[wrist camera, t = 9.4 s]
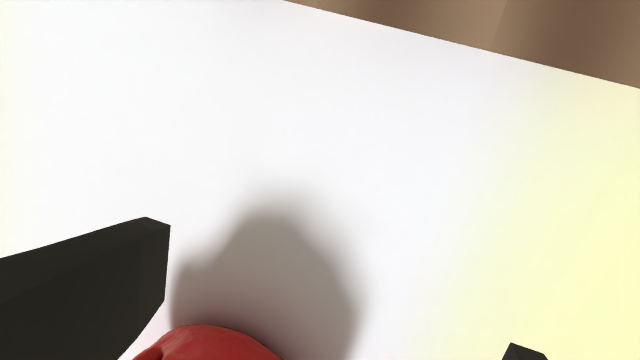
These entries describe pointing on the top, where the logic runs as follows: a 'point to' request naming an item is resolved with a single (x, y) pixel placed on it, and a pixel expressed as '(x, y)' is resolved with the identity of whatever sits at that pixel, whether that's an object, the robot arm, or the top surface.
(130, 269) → the robot arm
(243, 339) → the pomegranate
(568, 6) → the housing
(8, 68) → the top surface
